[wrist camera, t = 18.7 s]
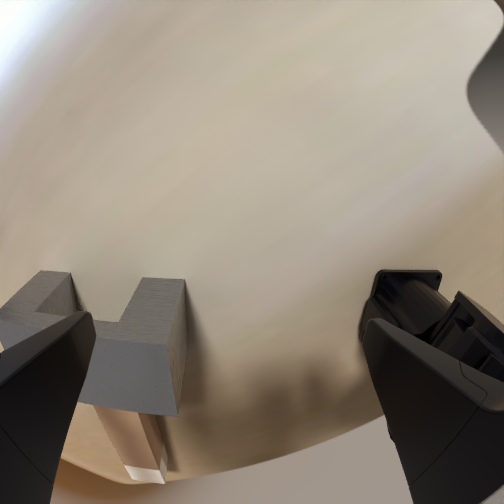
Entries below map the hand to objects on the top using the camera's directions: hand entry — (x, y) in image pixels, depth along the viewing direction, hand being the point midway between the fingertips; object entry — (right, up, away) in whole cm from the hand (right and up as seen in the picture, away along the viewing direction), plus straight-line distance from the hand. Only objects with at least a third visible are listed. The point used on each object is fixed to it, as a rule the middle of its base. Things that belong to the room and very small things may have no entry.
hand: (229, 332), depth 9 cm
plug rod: (-11, -15, +17) cm, 26 cm away
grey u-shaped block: (-10, -2, +12) cm, 16 cm away
